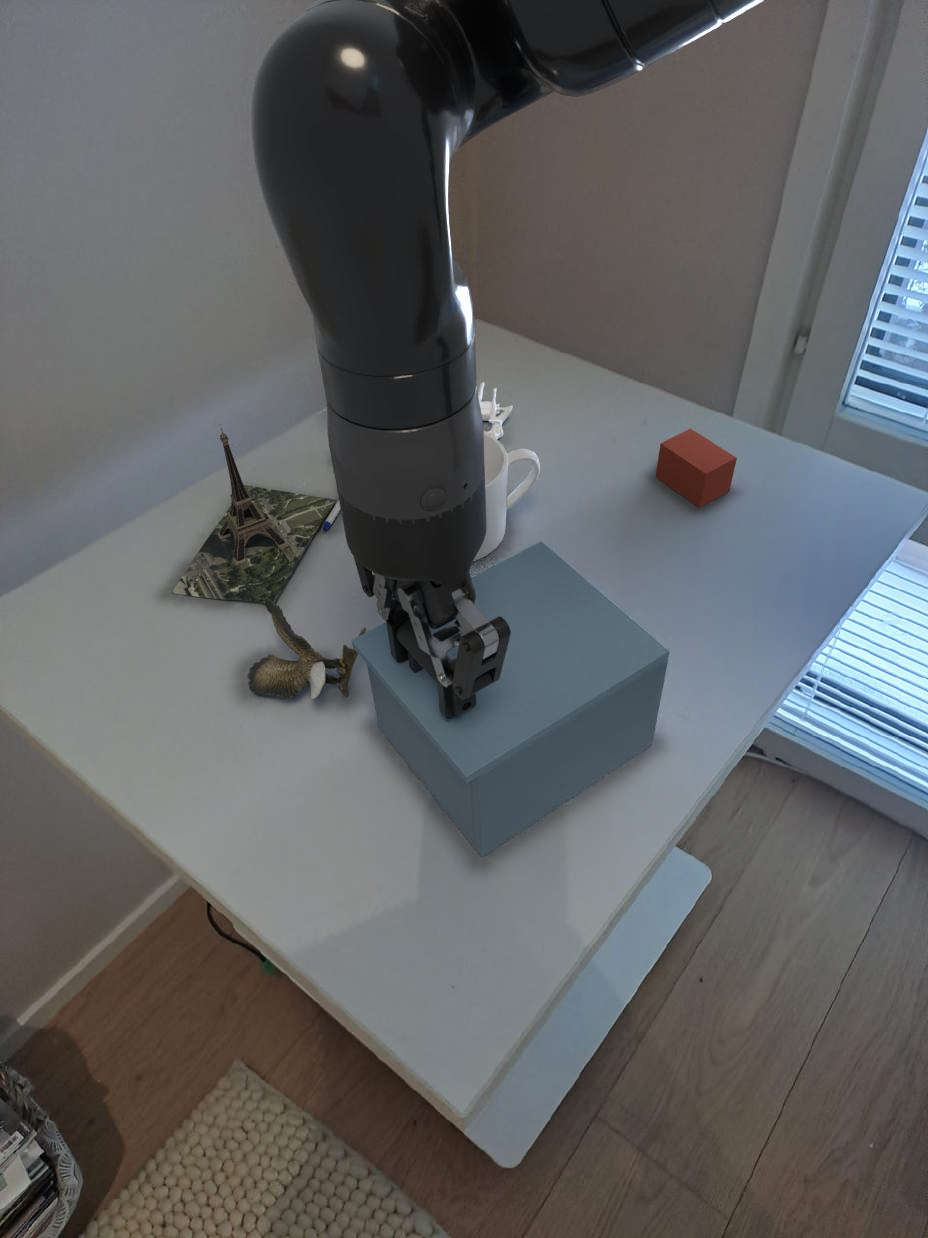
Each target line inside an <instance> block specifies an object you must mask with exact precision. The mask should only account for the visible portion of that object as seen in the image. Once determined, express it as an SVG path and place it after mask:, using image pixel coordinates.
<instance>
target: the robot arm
mask: <svg viewBox="0 0 928 1238" xmlns="http://www.w3.org/2000/svg"><path fill="white" fill-rule="evenodd" d="M764 1H765V0H316V1H315V2H314V3H312V5H310V6H309V7H308V8H307V9H306V10H305V11H303V12H302V13H301V14H300V15H299V16H298V17H296V18H295V20H293V21H292V22H291V23H289V24H288V25H287V26H286V27H285V28H284V29H283V30H282V31H281V32H280V33H279V35H278V36H277V37H276V38H275V39H274V40H273V41H272V42H271V44H270V46H269V47H268V49H267V50H266V52H265V54H264V56H263V58H262V60H261V62H260V65H259V67H258V70H257V72H256V75H255V80H254V84H253V89H252V96H251V106H250V107H251V109H250V128H251V142H252V143H251V144H252V152H253V157H254V158H253V159H254V165H255V171H256V176H257V180H258V184H259V188H260V192H261V195H262V198H263V201H264V202H263V203H264V205H265V208H266V210H267V213H268V215H269V219H270V221H271V224H272V226H273V228H274V232H275V233H276V236H277V238H278V240H279V244H280V245H281V248H282V250H283V253H284V256H285V258H286V260H287V262H288V266H289V268H290V270H291V273H292V276H293V278H294V280H295V283H296V285H297V287H298V289H299V290H300V293H301V294H302V297H303V298H304V301H305V303H306V304H307V306H308V308H309V311H310V310H311V312H310V314H311V313H312V315H313V319H314V325H313V329H314V336H315V343H316V349H317V355H318V361H319V366H320V372H321V378H322V383H323V388H324V394H325V402H326V411H327V412H326V413H327V418H326V419H327V421H326V422H327V425H326V426H327V440H328V447H329V453H330V458H331V463H332V469H333V474H334V480H335V485H336V486H335V487H336V492H337V495H338V496H337V497H338V500H339V502H340V508H341V509H340V513H341V518H342V523H343V528H344V529H343V530H344V534H345V535H344V536H345V540H346V544H347V548H348V549H349V551H350V553H351V555H352V556H353V560H354V564H355V567H356V570H357V574H358V578H359V581H360V584H361V589H362V591H363V593H364V594H365V595H366V596H367V597H368V598H372V597H374V596H375V598H376V600H377V601H376V608H377V612H378V615H379V616H380V617H381V618H382V619H383V620H384V621H385V622H386V625H387V631H388V638H389V644H390V651H391V655H392V657H393V658H394V659H395V660H396V661H397V662H398V663H403V662H405V661H407V660H408V652H407V650H406V648H405V647H404V646H403V645H402V644H401V643H400V642H399V641H398V639H397V636H396V634H397V630H398V628H399V627H400V626H401V625H402V624H403V623H404V622H405V621H407V620H409V619H410V620H411V623H412V626H413V629H414V632H415V636H416V639H417V642H418V645H419V648H420V649H421V650H423V651H424V652H426V653H427V654H429V655H430V656H431V659H432V662H433V665H434V668H435V672H436V675H437V676H436V679H437V689H438V699H439V709H440V712H441V713H442V714H443V715H444V716H445V717H446V719H452V718H454V717H455V718H457V717H459V716H460V715H462V714H464V713H466V712H467V711H469V710H471V709H472V708H474V707H475V706H476V693H477V692H478V691H480V690H482V689H484V688H485V687H487V686H489V685H490V684H492V683H494V682H496V681H497V680H499V679H500V675H501V671H502V667H503V663H504V659H505V655H506V651H507V647H508V643H509V639H510V635H511V631H510V628H509V625H508V624H507V622H506V621H505V619H504V618H502V617H501V616H498V617H496V618H495V619H493V620H491V621H489V622H488V621H487V620H486V619H485V617H484V616H483V615H482V614H481V612H480V611H479V610H478V609H477V607H476V606H475V605H474V603H475V600H476V592H475V588H474V585H473V582H472V579H471V578H472V575H471V572H470V569H471V566H472V565H473V563H474V562H473V560H474V558H475V557H476V555H477V553H478V551H479V550H480V548H481V546H482V544H483V542H484V539H485V535H486V493H485V465H484V431H485V430H484V420H482V414H481V408H480V403H479V398H478V393H479V392H478V385H477V383H478V382H477V380H478V379H477V353H476V349H477V348H476V330H475V329H476V328H475V315H474V313H475V312H474V304H473V303H474V302H473V298H472V297H473V295H472V292H471V288H470V283H469V280H468V278H467V276H466V273H465V272H464V269H463V268H462V266H461V265H460V264H459V263H458V261H457V260H456V259H455V258H454V257H453V250H452V238H451V227H450V215H449V214H450V213H449V212H450V210H449V190H450V189H449V188H450V187H449V186H450V170H451V169H450V168H451V164H452V162H453V160H454V158H455V156H456V154H457V152H458V150H459V149H460V148H461V147H463V146H464V145H465V144H467V143H468V142H469V141H471V140H472V139H473V138H475V137H476V136H477V135H479V134H481V133H482V132H484V131H486V130H487V129H489V128H490V127H492V126H494V125H495V124H497V123H499V122H500V121H503V120H504V119H506V118H508V117H510V116H511V115H514V114H516V113H517V112H519V111H521V110H523V109H525V108H527V107H528V106H531V105H533V104H534V103H536V102H538V101H540V100H541V99H544V98H545V97H547V96H549V95H551V94H553V93H557V94H559V95H561V96H564V97H574V98H575V97H576V98H577V97H583V96H588V95H591V94H594V93H597V92H599V91H602V90H604V89H606V88H608V87H610V86H611V87H612V86H613V85H616V84H618V83H619V82H621V81H624V80H625V79H628V78H630V77H632V76H633V75H636V74H638V73H639V72H641V71H643V70H644V68H645V67H650V66H652V65H654V64H655V63H657V62H659V61H661V60H662V59H664V58H666V57H667V56H669V55H671V54H672V53H675V52H677V51H678V50H680V49H682V48H684V47H686V46H687V45H689V44H691V43H692V42H694V41H696V40H698V39H700V38H701V37H704V36H705V35H706V34H708V33H710V32H712V31H714V30H716V29H718V28H719V27H721V26H723V23H727V22H730V21H731V20H733V19H734V18H736V17H738V16H740V15H742V14H743V13H745V12H747V11H749V10H751V9H752V8H754V7H756V6H757V5H759V4H761V3H763V2H764ZM456 618H457V619H456ZM455 619H456V621H455V622H454V623H452V624H451V625H449V626H447V627H445V628H443V629H441V630H439V631H438V632H436V633H434V634H432V632H431V629H437V628H440V627H442V626H444V625H446V624H448V623H449V622H451V621H453V620H455ZM454 647H456V648H457V649H458V653H457V658H455V659H453V660H452V661H450V662H448V659H447V652H448V651H449V650H450V649H452V648H454Z"/></svg>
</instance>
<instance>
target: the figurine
mask: <svg viewBox="0 0 928 1238" xmlns="http://www.w3.org/2000/svg"><path fill="white" fill-rule="evenodd" d="M484 388H485V382H484V381H482V382H480V384H479V388H478V389H477V393H478V398H479V403H480V408H481V414H482V420H483V421H485V422H486V421H488V423H491V427H490V430H487V431H485V430H483V431H484V432H486V433H487V434H489V435H491V436H493V437H495V438H496V439H497V440H498V441H499V439H502V438H503V436H504V430H503V423H504V422H505V421H506V420H507V418H508V417H509V416H510V414H511V412H512V410H513V405H508V406H504V407H503V406H502V407H501V406H500V403H496V397H497V391H498V390H497V389H498V388H497V387H494V388H493V389H492V400H491V401H488V400H485V401H483V398H484V397H483V396H484V395H483V393H484ZM500 411H502V412H500ZM497 415H498V416H497Z"/></svg>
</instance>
